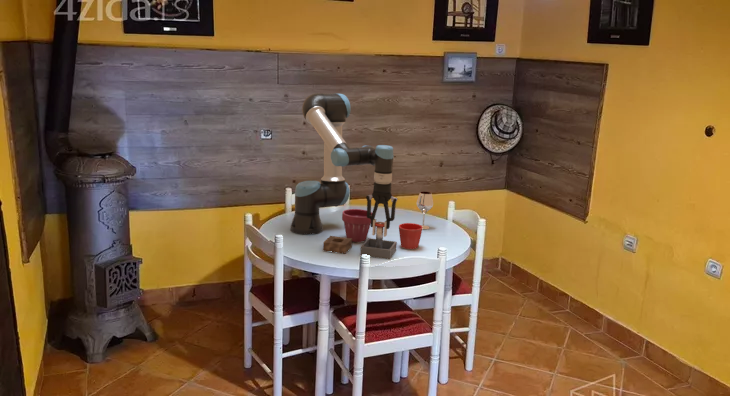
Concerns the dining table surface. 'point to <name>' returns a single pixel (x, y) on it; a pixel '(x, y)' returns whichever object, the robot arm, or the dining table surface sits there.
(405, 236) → the flower pot
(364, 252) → the tray
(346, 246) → the pin block
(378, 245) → the lock pin
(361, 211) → the plant pot
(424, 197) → the wineglass
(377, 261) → the dining table surface
